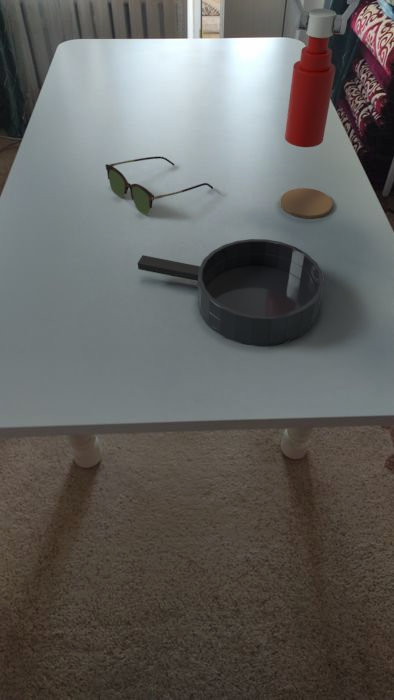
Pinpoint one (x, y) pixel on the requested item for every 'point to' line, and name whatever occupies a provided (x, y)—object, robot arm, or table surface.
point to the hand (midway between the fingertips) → (320, 31)
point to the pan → (259, 291)
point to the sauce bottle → (312, 83)
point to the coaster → (306, 203)
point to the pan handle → (168, 267)
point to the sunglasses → (137, 187)
